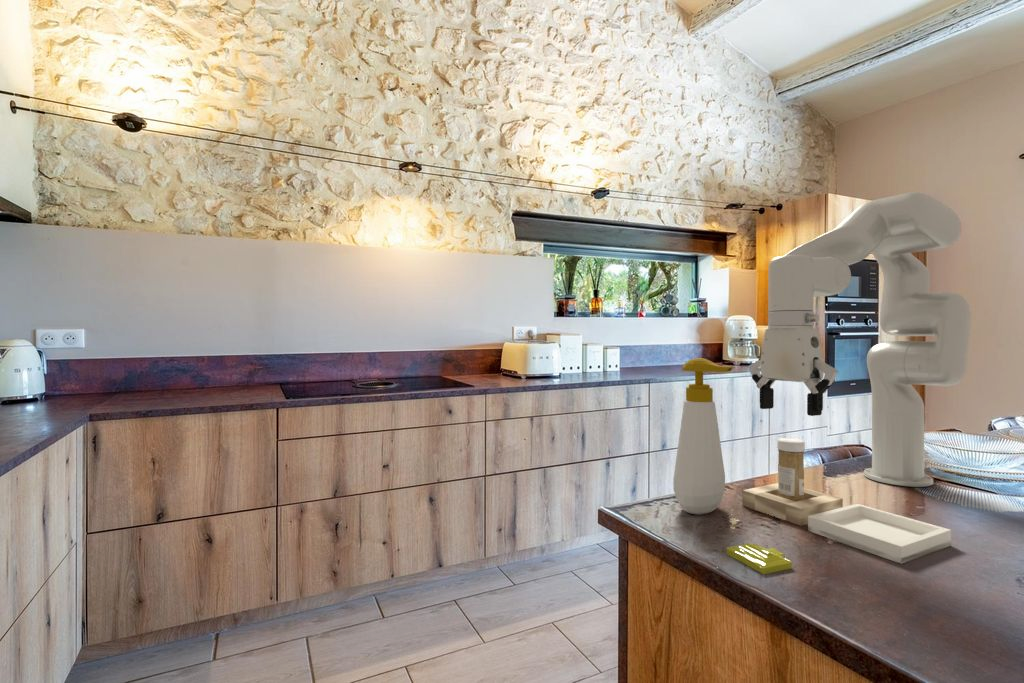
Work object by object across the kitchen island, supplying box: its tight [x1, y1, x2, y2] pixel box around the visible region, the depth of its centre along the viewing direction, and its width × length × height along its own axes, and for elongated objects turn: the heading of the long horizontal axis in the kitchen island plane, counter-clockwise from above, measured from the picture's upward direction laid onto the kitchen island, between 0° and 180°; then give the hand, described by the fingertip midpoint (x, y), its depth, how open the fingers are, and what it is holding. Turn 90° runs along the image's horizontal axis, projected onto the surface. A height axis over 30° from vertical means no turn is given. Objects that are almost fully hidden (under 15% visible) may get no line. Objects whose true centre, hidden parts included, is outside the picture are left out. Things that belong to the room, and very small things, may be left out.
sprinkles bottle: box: [776, 437, 806, 502], centre depth 96 cm, size 5×5×14 cm
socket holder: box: [741, 482, 844, 527], centre depth 96 cm, size 12×12×3 cm
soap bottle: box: [672, 357, 733, 515], centre depth 96 cm, size 13×10×29 cm
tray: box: [807, 503, 952, 565], centre depth 83 cm, size 14×14×2 cm
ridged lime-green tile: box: [726, 542, 800, 575], centre depth 75 cm, size 10×9×3 cm
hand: (789, 411), depth 96 cm, fingers open, 9 cm apart
